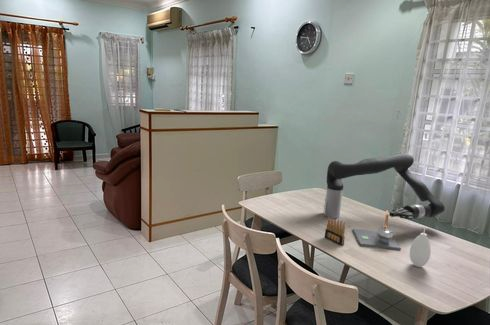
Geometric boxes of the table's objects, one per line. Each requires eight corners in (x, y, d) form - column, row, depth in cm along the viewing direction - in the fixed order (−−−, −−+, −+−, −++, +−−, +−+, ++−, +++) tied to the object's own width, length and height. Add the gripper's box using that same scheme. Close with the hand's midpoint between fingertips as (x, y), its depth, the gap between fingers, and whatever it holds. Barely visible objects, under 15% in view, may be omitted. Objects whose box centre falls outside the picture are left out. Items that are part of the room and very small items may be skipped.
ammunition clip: (343, 245, 160) (347, 222, 157) (341, 246, 159) (344, 223, 156) (326, 237, 168) (329, 215, 166) (324, 237, 167) (326, 215, 165)
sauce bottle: (404, 260, 149) (411, 223, 145) (421, 261, 149) (429, 225, 145) (412, 269, 141) (420, 231, 137) (430, 271, 141) (438, 232, 137)
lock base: (360, 245, 160) (361, 238, 160) (352, 230, 178) (353, 223, 177) (400, 250, 159) (401, 242, 158) (388, 234, 176) (389, 227, 175)
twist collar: (392, 240, 159) (396, 221, 157) (377, 237, 161) (380, 219, 159) (391, 228, 173) (394, 211, 171) (377, 226, 175) (380, 209, 173)
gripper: (404, 201, 184) (381, 203, 177) (425, 209, 172) (402, 212, 165) (402, 213, 185) (379, 216, 178) (423, 222, 174) (399, 226, 167)
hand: (390, 214), depth 172 cm, fingers closed
